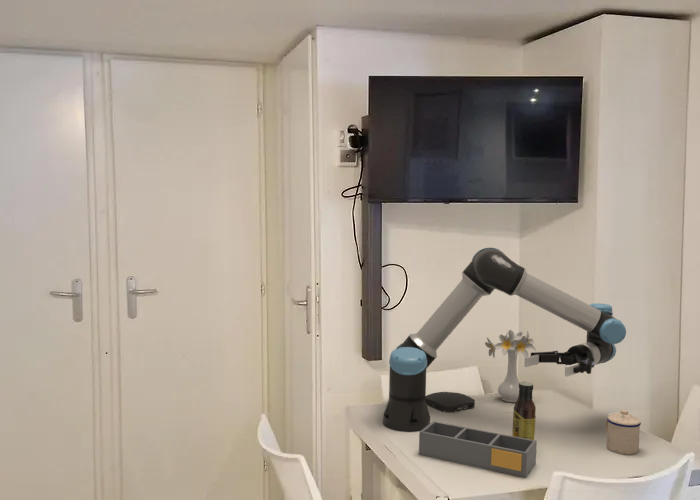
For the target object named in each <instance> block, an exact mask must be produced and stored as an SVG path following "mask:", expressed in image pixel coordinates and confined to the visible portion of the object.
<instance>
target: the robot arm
mask: <svg viewBox="0 0 700 500" xmlns="http://www.w3.org/2000/svg"><path fill="white" fill-rule="evenodd" d="M461 274H462V276H461V277H462V278H461V280H460V282H459V283H458V284H457V285H456V286H455V287H454V289H453V290H452V291H451V292H450V294H449V295H448V296H447V297H446V298H445V300H443V301H442V303H441V304H440V305H439V307H438V308H437V309H436V310H435V311H434V312H433V314H432V315H431V316H430V317H429V318H428V319H427V321H425V323H424V324H423V325H422V327H420V329H419V331H417V333H410V334H409V335H408V336H407V338H406V339H404V341H403V342H402V343H400V344H399V345H398V346H397V347H395V349H393V350H392V351H391V353H390V356H389V360H388V361H389V362H388V365H389V382H388V383H389V384H388V387H389V388H388V401H387V403H386V406H385V409H384V412H383V414H382V424H383V425H384V426H385V427H387V428H389V429H392V430H395V431H400V432H401V431H403V432H418V431H421V430H422V429H424V428H425V427H426V426H428V425H429V424H430V423H431V416H430V412H429V408H428V405H427V404H426V400H425V396H427V395H426V391H427V386H426V385H427V369H428V368H429V367H430V365H431V364H432V363H433V362H434V361H435V360H436V358H437V357H438V356H437V351H438V349H439V348H440V347H441V346H442V344H443V343H444V342H445V340H447V339H448V338H449V336H450V335H451V334H452V333H453V332H454V330H455V329H456V328H457V327H458V326H459V324H460V323H461V322H462V321H463V320H464V318H465V317H466V316H467V315H468V314H469V313H470V311H471V310H472V309H473V308H474V306H475V305H477V303H478V302H479V300H481V299H482V297H484V296H485V297H486V296H490V295H491V294H492V293H493V291H495V290H497V291H498V292H501V293H504V294H506V295H508V296H510V297H511V296H518V298H522V299H523V300H525V301H527V302H529V303H530V304H533V305H535V306H537V307H539V308H541V309H543V310H545V311H546V312H549V313H551V314H553V315H555V316H556V317H558V318H561V319H562V320H564V321H566V322H568V323H570V324H572V325H575V326H576V327H578V328H580V329H582V330H584V331H585V332H586V342H583V343H580V344H577V345H572V346H571V347H569V348H568V349H567V351H564V352H559V351H558V350H552V351H535V352H530V356H528V357H524V366H523V367H525V368H527V367H532V366H537V365H538V364H539V365H540V364H541V363H543V364H545V363H547V364H549V363H551V364H552V363H554V364H557V365H565V366H564V377H570V376H573V375H576V374H579V373H581V374H584V373H585V372H586V374H588V375H590V374H591V373H592V370H593V369H592V368H595V366H597V365H599V364H600V365H601V364H605V363H607V362H609V361H611V360H612V359H614V357H615V356H616V353H617V348H616V345H617V344H619V343H621V342H622V341H624V340H625V338H626V336H627V329H626V325H624V324H623V322H622V321H621V320H619V319H617V318H615V317H614V316H613V315H614V313H613V306H612V305H611V304H605V303H599V302H598V303H595V302H594V303H590V304H588V303H586V302H584V301H582V300H581V299H578V298H577V297H574V296H573V295H570V294H568V293H567V292H565V291H564V290H561V289H559V288H556V287H555V286H553V285H551V284H549V283H547V282H545V281H544V280H542V279H539V278H538V277H536V276H534V275H532V274H530V273H528V272H527V269H526V268H525V267H523V266H521V265H519V264H517V262H515V261H513V260H512V259H510V257H508V256H507V255H506V254H505V253H504V252H503V251H502V250H500V248H499V249H498V248H495V247H485V248H482V249H479V250H477V252H476V253H475V254H474V255H473V256H472V259H471V261H470V263H468V265H467V266H466V267H465V268H464V269H463V271H462V272H461Z"/></svg>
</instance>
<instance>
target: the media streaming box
mask: <svg viewBox="0 0 700 500" xmlns="http://www.w3.org/2000/svg"><path fill="white" fill-rule="evenodd" d="M425 400H426V404H427V406H429V407H431V408H434V409H435V410H437V411H440V410H441V412H443V411H445V413H456V412H455V411H457V412H462V411H461V410H463V411H467V410H471V409H474V408H475V406H476V400H475V399H473V397H470V396H469V395H466V394H463V393H460V392H454V391H436V392H433V393H430V394H427V395H426V396H425Z"/></svg>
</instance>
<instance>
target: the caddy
mask: <svg viewBox="0 0 700 500" xmlns="http://www.w3.org/2000/svg"><path fill="white" fill-rule="evenodd" d="M418 434H419V435H418V438H419V441H418V455H420V456H425V457H429V458H433V459H440V460H442V461H443V460H444V461H448V462H452V463H457V464H462V465H468V466H471V467H476V468H479V469H485V470H490V471H494V472H499V473H503V474H508V475H512V476H517V477H522V478H528V476H529V474H530V472H531V471H532V470H533V469H534V467H535V465H536V463H537V446H538V445H537V443H538V442H537V440H536V439H534V440H531V439H525V438H520V437H515V436H512V435H509V434H503V433H497V432H493V431H488V430H487V431H486V430H482V429H477V428H473V427H467V426H463V425H462V426H461V425H457V424H456V425H455V424H449V423H445V422H440V421H435V420H433V421H430V424H429V425H428V426H426V427H425V428H424V429H422V430H419V433H418Z"/></svg>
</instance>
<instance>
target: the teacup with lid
mask: <svg viewBox="0 0 700 500" xmlns="http://www.w3.org/2000/svg"><path fill="white" fill-rule="evenodd" d="M604 423H605V424H604V425H605V431H606V433H607V434H606V436H607V437H606V448H607V449H608V450H609V451H611V452H613V453H616V454H621V455H634V454H637V453H638V452H639V444H640V428H641V424H642V423H641V420H640V419H639V418H637V416H633V414H630V413H629V411H628V410H627V409H620V412H617V413H612V414H609V415H608V416H607V418H606V420H605V422H604Z"/></svg>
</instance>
